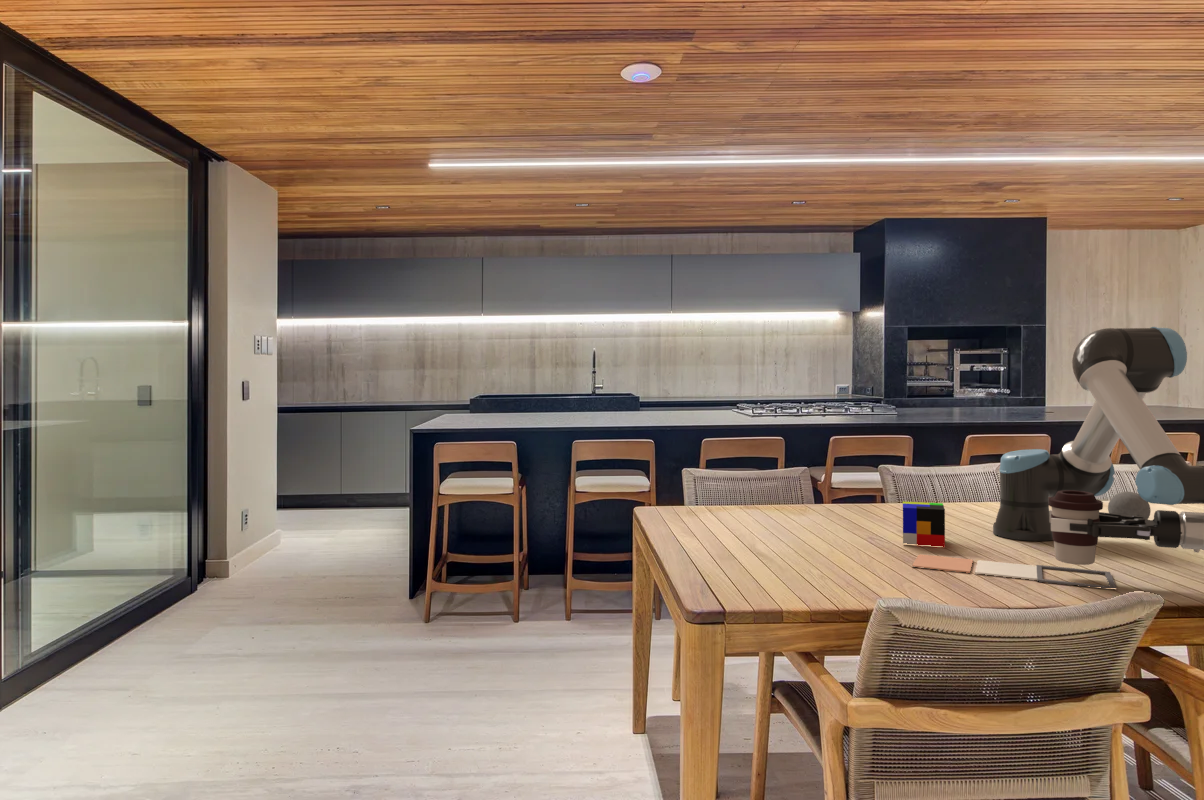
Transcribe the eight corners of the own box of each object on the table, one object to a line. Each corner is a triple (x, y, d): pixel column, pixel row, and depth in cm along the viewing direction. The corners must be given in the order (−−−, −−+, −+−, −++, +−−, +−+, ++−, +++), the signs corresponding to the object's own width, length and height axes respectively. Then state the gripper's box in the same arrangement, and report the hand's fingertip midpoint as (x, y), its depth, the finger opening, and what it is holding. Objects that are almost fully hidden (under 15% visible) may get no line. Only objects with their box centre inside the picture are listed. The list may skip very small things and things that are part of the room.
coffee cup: (1053, 565, 157) (1054, 495, 157) (1043, 554, 166) (1044, 488, 166) (1108, 568, 154) (1109, 497, 153) (1094, 557, 163) (1095, 489, 162)
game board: (911, 568, 170) (911, 566, 170) (919, 555, 182) (919, 553, 182) (1116, 590, 151) (1116, 588, 151) (1109, 574, 163) (1109, 571, 163)
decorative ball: (1124, 530, 207) (1124, 494, 207) (1099, 523, 217) (1099, 489, 217) (1159, 529, 207) (1159, 494, 207) (1133, 522, 217) (1133, 488, 217)
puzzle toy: (903, 545, 194) (902, 507, 193) (902, 537, 203) (902, 501, 202) (944, 548, 190) (944, 509, 189) (942, 540, 199) (942, 503, 199)
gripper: (1189, 560, 142) (1051, 547, 153) (1169, 537, 160) (1048, 527, 172) (1189, 521, 141) (1052, 512, 153) (1170, 502, 160) (1048, 495, 171)
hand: (1050, 520), depth 162 cm, fingers closed on coffee cup, 9 cm apart
